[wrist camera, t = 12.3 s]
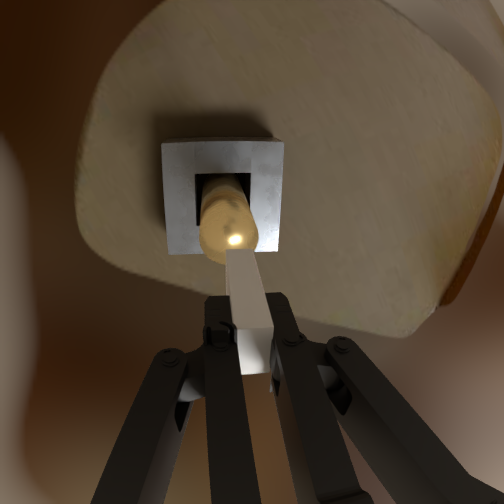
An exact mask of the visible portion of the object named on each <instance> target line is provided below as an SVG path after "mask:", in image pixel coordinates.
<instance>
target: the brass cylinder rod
mask: <svg viewBox="0 0 504 504" xmlns="http://www.w3.org/2000/svg"><path fill="white" fill-rule="evenodd" d="M258 240H259V233H258V229H257V226H256V223H255V221H254V218H253V215H252V213H251V210H250V207H249V205H248V202H247V199H246V197H245V194H244V192H243V189H242V186H241V184H240V181H239V179H238V178H237V176H236V175H235V174H233V173H211V174H210V175H208V176H207V178H206V179H205V181H204V183H203V190H202V202H201V216H200V230H199V243H200V246H201V249H202V251H203V252H204V254H205V255H206V256H207V257H208V258H209V259H211V260H212V261H214V262H217V263H220V264H225V265H226V249H253V252H254V251H255V249H256V247H257V244H258Z"/></svg>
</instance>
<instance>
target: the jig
mask: <svg viewBox="0 0 504 504" xmlns="http://www.w3.org/2000/svg"><path fill="white" fill-rule="evenodd" d="M161 148H162V172H163V190H164V206H165V219H166V231H167V242H168V252H169V255H174V254H203V253H204V252H203V251H202V249H201V246H200V243H199V230H200V216H201V212H198V209H197V174H201V173H246V185H245V197H246V199H247V202H248V205H249V207H250V210H251V213H252V215H253V218H254V221H255V223H256V226H257V229H258V233H259V240H258V244H257V247H256V249H255V251H254V252H261V251H278V237H279V222H280V207H281V191H282V173H283V155H284V142H283V141H281V140H279V139H277V138H274V137H196V138H173V139H166V140H165V141H164V142H163V143H161Z"/></svg>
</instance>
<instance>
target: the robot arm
mask: <svg viewBox="0 0 504 504" xmlns="http://www.w3.org/2000/svg"><path fill="white" fill-rule="evenodd" d="M226 294H227V296H209V297H208V298H207V300H206V301H205V326H204V328H203V340H204V343H203V344H202V345H201V347H200V348H198V349H197V350H194V351H192V352H188V353H184V352H183V351H181V350H179V349H176V348H168V349H163V350H161V351H160V352H158V353H157V354H156V355H155V357H154V359H153V361H152V363H151V365H150V367H149V369H148V371H147V374H146V376H145V378H144V380H143V382H142V384H141V386H140V389H139V391H138V393H137V395H136V397H135V400H134V402H133V404H132V406H131V408H130V411H129V413H128V415H127V417H126V420H125V422H124V424H123V426H122V429H121V431H120V433H119V436H118V438H117V440H116V443H115V445H114V447H113V450H112V452H111V454H110V457H109V459H108V461H107V464H106V466H105V469H104V471H103V473H102V476H101V478H100V481H99V483H98V486H97V488H96V491H95V493H94V496H93V498H92V501H91V503H90V504H163V503H164V500H165V496H166V493H167V490H168V486H169V483H170V479H171V476H172V472H173V469H174V465H175V462H176V459H177V456H178V452H179V449H180V446H181V442H182V439H183V435H184V432H185V429H186V425H187V422H188V419H189V415H190V412H191V408H192V406H193V402H194V400H195V399H199V398H202V397H205V399H206V400H205V401H206V424H207V442H208V443H207V445H208V460H209V476H210V489H211V501H212V504H261V498H260V492H259V487H258V480H257V474H256V468H255V462H254V456H253V450H252V443H251V436H250V430H249V423H248V416H247V410H246V403H245V396H244V389H243V382H242V375H241V374H255V373H267V372H269V369H270V368H271V372H272V375H271V384H270V392H272V390H273V393H274V398H275V402H276V407H277V412H278V416H279V420H280V425H281V430H282V434H283V439H284V443H285V447H286V452H287V457H288V461H289V466H290V470H291V475H292V479H293V484H294V488H295V493H296V497H297V501H298V504H374V502H373V500H372V498H371V496H370V495H369V493H367V492H366V491H364V490H362V489H361V487H360V485H359V482H358V479H357V477H356V474H355V471H354V468H353V465H352V462H351V460H350V456H349V453H348V450H347V448H346V445H345V442H344V439H343V436H342V433H341V430H340V428H339V425H338V422H339V423H340V425H341V426H342V428H343V429H344V430H345V432H346V433H347V435H348V436H349V438H350V439H351V441H352V442H353V443H354V445H355V446H356V448H357V449H358V451H359V452H360V453H361V455H362V456H363V458H364V459H365V460H366V462H367V463H368V465H369V466H370V468H371V469H372V470H373V472H374V473H375V475H376V476H377V477H378V479H379V480H380V481H381V483H382V484H383V486H384V487H385V489H386V490H387V491H388V493H389V494H390V496H391V497H392V498H393V500H394V501H395V502H396V504H504V493H502V492H500V491H499V490H496V489H495V488H493V487H491V486H489V485H487V484H485V483H483V482H482V481H480V480H478V479H476V478H474V477H472V476H471V475H469V474H468V472H467V471H466V470H465V469H464V468H463V467H462V465H461V464H460V463H459V462H458V461H457V459H456V458H455V457H454V456H453V455H452V453H451V452H450V451H449V450H448V449H447V448H446V447H445V445H444V444H443V443H442V442H441V441H440V439H439V438H438V437H437V436H436V435H435V434H434V432H433V431H432V430H431V429H430V428H429V426H428V425H427V424H426V423H425V422H424V421H423V420H422V418H421V417H420V416H419V415H418V414H417V413H416V412H415V410H414V409H413V408H412V407H411V406H410V404H409V403H408V402H407V401H406V400H405V399H404V398H403V396H402V395H401V394H400V393H399V392H398V391H397V390H396V388H395V387H394V386H393V385H392V384H391V383H390V382H389V380H388V379H387V378H386V377H385V376H384V375H383V374H382V372H381V371H380V370H379V369H378V368H377V367H376V366H375V364H374V363H373V362H372V361H371V360H370V359H369V358H368V357H367V356H366V354H365V353H364V352H363V351H362V350H361V349H360V348H359V346H358V345H357V344H356V343H355V342H354V341H352V340H351V339H349V338H347V337H342V336H337V337H333V338H331V339H329V341H328V342H327V344H323V343H316V342H312V341H309V340H307V338H306V337H305V335H304V334H302V333H301V332H300V331H299V329H298V326H297V323H296V321H295V318H294V315H293V312H292V310H291V307H290V304H289V301H288V299H287V297H286V296H284V295H283V294H282V293H281V292H276V293H265V292H264V289H263V285H262V281H261V278H260V274H259V270H258V267H257V263H256V259H255V256H254V252H253V249H226ZM337 420H338V422H337Z"/></svg>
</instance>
